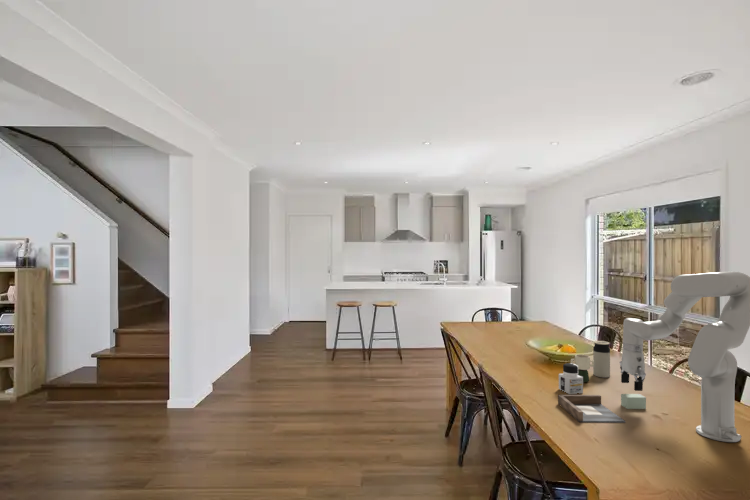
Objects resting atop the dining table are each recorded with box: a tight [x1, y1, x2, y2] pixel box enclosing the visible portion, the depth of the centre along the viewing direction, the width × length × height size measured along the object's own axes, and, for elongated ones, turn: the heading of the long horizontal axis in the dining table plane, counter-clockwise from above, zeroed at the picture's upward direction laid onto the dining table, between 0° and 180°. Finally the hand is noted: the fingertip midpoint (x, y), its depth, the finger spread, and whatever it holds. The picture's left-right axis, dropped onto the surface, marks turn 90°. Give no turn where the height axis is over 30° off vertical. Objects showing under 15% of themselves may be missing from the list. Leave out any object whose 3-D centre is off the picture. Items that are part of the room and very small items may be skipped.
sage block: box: [620, 393, 647, 410], centre depth 184 cm, size 4×8×5 cm, turn 89°
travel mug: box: [592, 340, 611, 379], centre depth 229 cm, size 8×8×18 cm
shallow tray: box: [557, 394, 626, 424], centre depth 177 cm, size 20×18×4 cm
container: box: [558, 362, 584, 395], centre depth 204 cm, size 8×8×13 cm
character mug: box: [570, 354, 594, 383], centre depth 220 cm, size 11×7×13 cm, turn 74°
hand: (631, 386), depth 184 cm, fingers open, 9 cm apart
